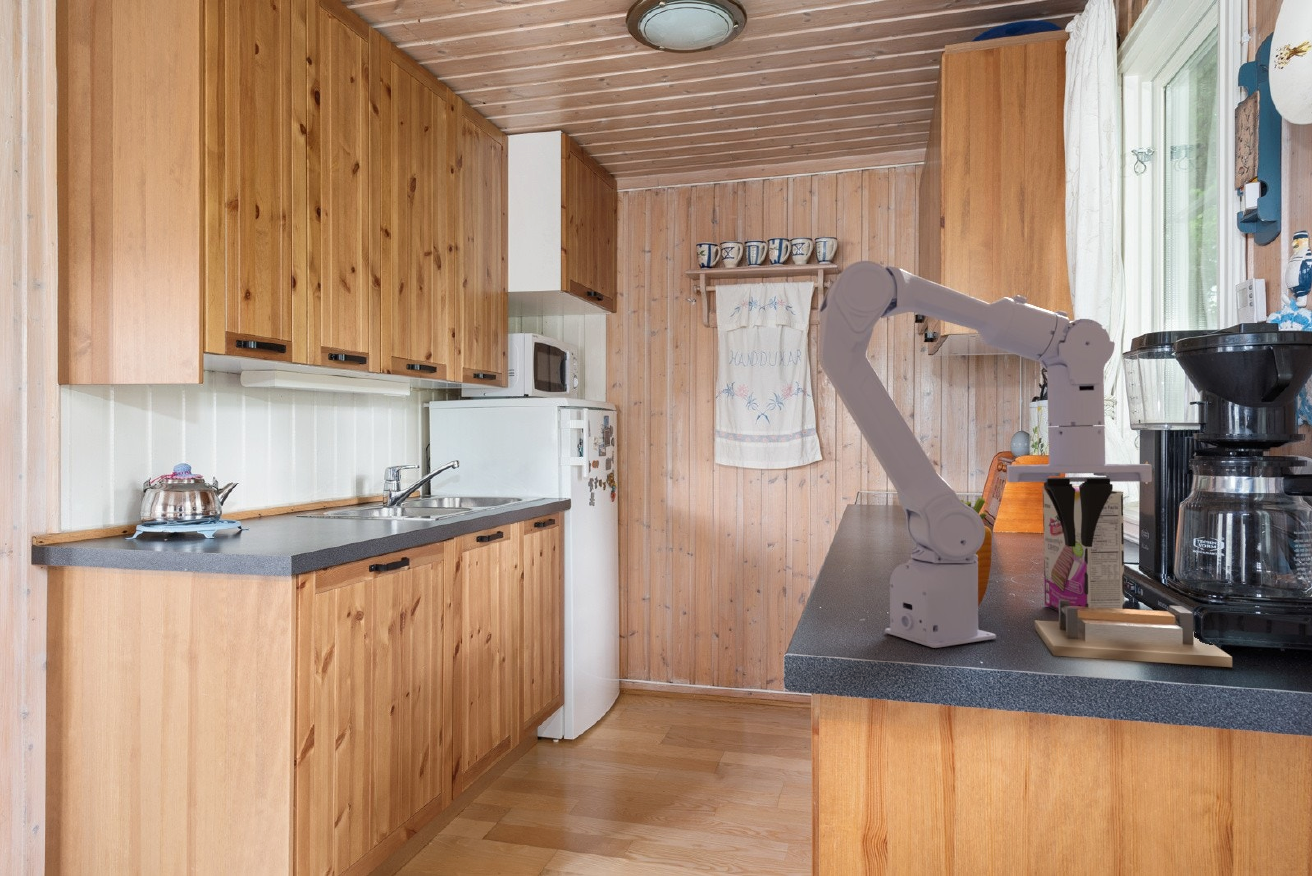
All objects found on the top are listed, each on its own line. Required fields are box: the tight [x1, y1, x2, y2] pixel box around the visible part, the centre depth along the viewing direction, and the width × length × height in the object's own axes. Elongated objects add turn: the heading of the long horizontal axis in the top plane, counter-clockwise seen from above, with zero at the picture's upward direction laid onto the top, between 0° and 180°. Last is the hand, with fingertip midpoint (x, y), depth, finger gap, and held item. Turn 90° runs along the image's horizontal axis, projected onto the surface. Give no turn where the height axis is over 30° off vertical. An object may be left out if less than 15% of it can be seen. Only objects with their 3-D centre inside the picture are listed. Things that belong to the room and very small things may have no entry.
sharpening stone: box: [1058, 599, 1195, 648], centre depth 86 cm, size 12×7×3 cm, turn 73°
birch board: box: [1034, 619, 1233, 668], centre depth 86 cm, size 16×12×1 cm
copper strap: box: [1061, 605, 1175, 624], centre depth 87 cm, size 10×2×1 cm, turn 73°
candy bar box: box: [1042, 484, 1126, 613], centre depth 101 cm, size 11×5×16 cm, turn 179°
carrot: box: [960, 497, 993, 608], centre depth 104 cm, size 5×5×15 cm
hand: (1078, 545), depth 90 cm, fingers closed
